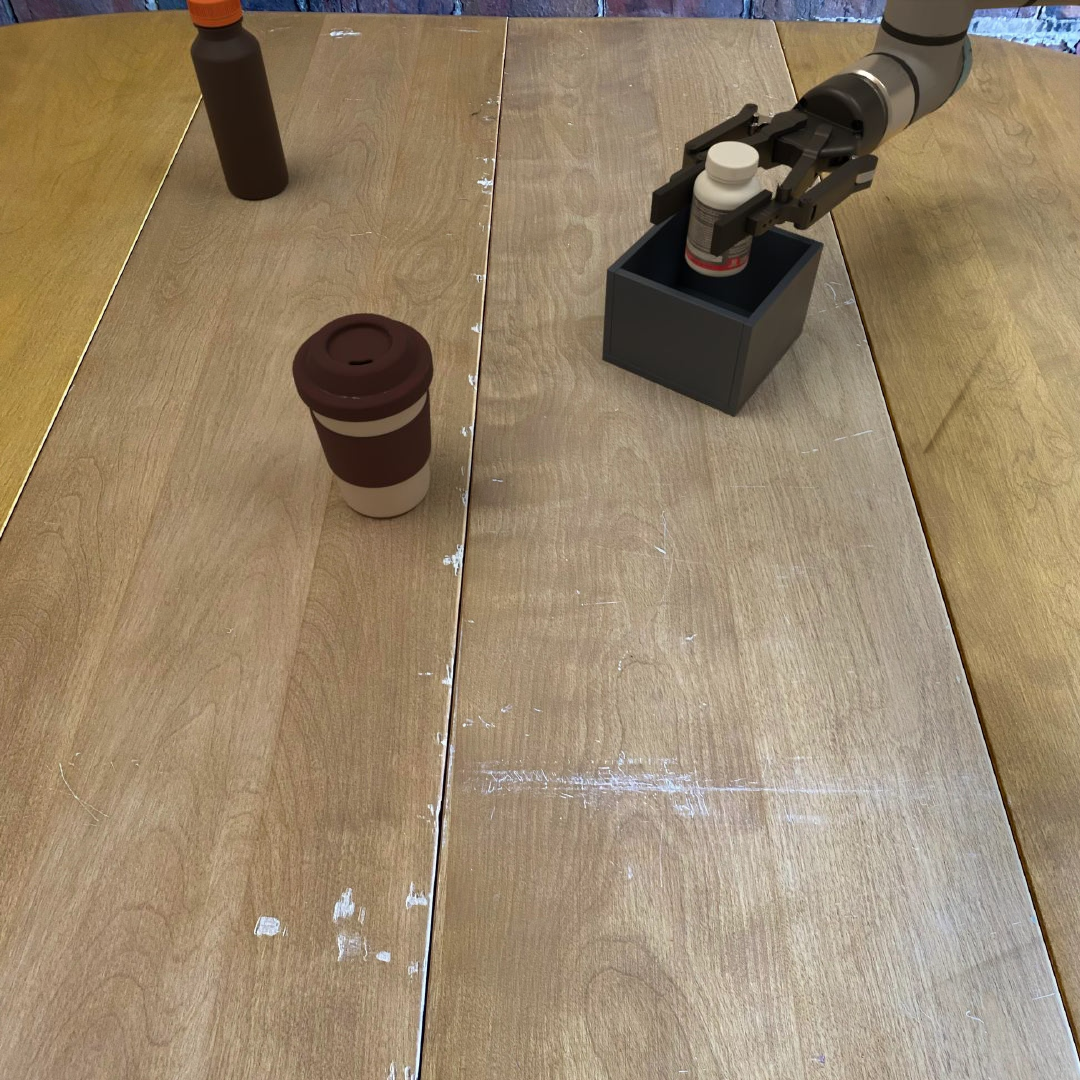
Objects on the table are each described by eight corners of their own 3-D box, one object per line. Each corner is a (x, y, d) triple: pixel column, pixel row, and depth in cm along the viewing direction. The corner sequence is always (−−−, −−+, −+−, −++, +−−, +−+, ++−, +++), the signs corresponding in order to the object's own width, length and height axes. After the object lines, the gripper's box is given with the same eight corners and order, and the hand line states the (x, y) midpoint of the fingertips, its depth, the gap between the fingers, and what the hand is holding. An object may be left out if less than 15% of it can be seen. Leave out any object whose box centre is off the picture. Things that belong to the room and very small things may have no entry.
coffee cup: (367, 429, 85) (338, 284, 73) (468, 465, 82) (455, 320, 71) (300, 508, 79) (258, 364, 68) (407, 549, 77) (382, 406, 65)
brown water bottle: (286, 163, 112) (244, -26, 97) (293, 195, 108) (250, 2, 93) (225, 172, 111) (173, -18, 96) (230, 205, 107) (176, 11, 91)
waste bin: (801, 333, 93) (824, 243, 85) (734, 417, 86) (752, 326, 78) (674, 284, 98) (685, 194, 90) (601, 359, 91) (606, 269, 83)
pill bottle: (737, 285, 82) (757, 178, 75) (676, 270, 84) (689, 163, 76) (755, 250, 85) (775, 143, 78) (695, 236, 87) (709, 130, 79)
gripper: (929, 194, 87) (772, 314, 76) (758, 120, 95) (595, 220, 84) (957, 111, 81) (791, 229, 70) (772, 40, 89) (599, 136, 79)
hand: (685, 224), depth 77 cm, fingers closed on pill bottle, 5 cm apart
